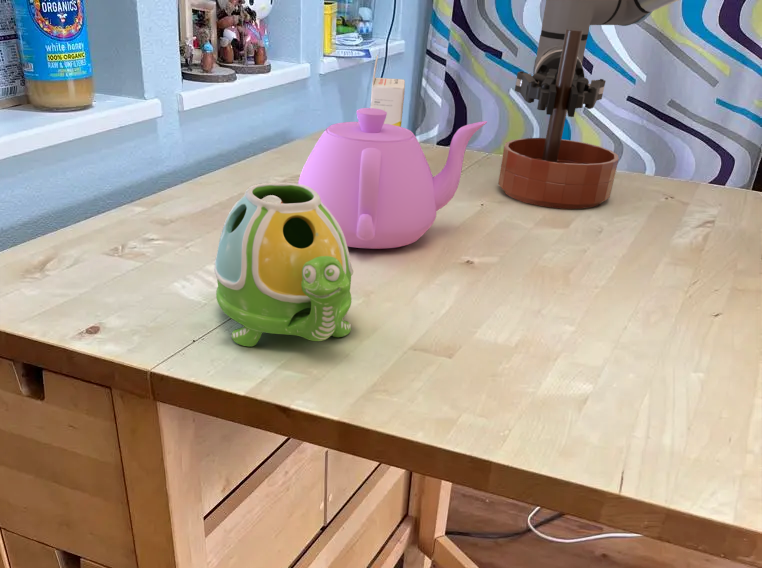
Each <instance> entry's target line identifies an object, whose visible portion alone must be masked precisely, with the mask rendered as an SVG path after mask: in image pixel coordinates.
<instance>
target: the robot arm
mask: <svg viewBox="0 0 762 568" xmlns="http://www.w3.org/2000/svg"><path fill="white" fill-rule="evenodd" d="M678 1H680V0H545V4H544V11H543V17H542V24H541V29H540V35H539V39H538V46H537V51H536V57H535V59H534V63H533V69H532V71H533V72H532V73H533V75H532V73H528V72H524V71H522V70H520V71H517V73H516V74H517V75H516V81H515V87H514V91H515V92H517V93H518V94H519V93H520V95H521V97H522V98H523V100H524V101H525V102H526V103H528V104H532V103H534V102H535V100H538V102H537V108H536V110H538V111H545V112H546V115H547V116H550V115H552V113H553V108H554V102H555V97H556V80H557V75H558V70H559V64H560V59H561V53H562V48H563V42H564V37H565V32H566V29H578V30H582V31H583V32H582V37H581V42H580V47H579V52H578V57H577V62H576V67H575V72H574V78H573V83H572V88H571V92H570V97H569V102H568V107H567V116H568V118H569V117H570V118H574V117H575V114H576V109H582V108H583V107H584V108H586V109H587V110H591V109H594V107H595V105H596V103H597V101H601V100H602V99H603V96H604V91H605V86H606V80H604V78H599V79H591V81H589V79H588V78H586V77H585V70H584V68H583V60H584V55H585V50H586V45H587V40H588V37H589V30H590V26H620V27H627V26H631V25H637V24H640V23H642V22H644V21H645V20H647V19H648V18H649V16H651V14H652V13H653V12H654V11H656V10H657V11H658V10H659V9H661V8H664V7H666V6H669V5H671V4H674V3H676V2H678Z"/></svg>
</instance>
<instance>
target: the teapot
mask: <svg viewBox="0 0 762 568" xmlns="http://www.w3.org/2000/svg"><path fill="white" fill-rule="evenodd" d="M386 115H387V112H385V111H384V110H381V109H375V108H370V107H361V108H359V109H357V110H356V117H357V120H358V121H345V122H337V123H333V124H331V125H329V126H328V127H326V129H325V130H324V131H323V132H322V134H321V135H320V136H319V138H318V140H317V141H316V143H315V145H314V146H313V148H312V150H311V152H310V153H309V155H308V157H307V159H306V161H305V163H304V165H303V167H302V170H301V172H300V174H299V178H298V180H297V184H301V185H305V186H308V187H310V188H312V189H313V190H314V191H316V192H317V193H318V195H319V196H320V199H321V202H322V203H323V204H324V205H325V207H326V208H327V209H328V210H329V211H330V213H331V214H332V215H333V217H334V218H335V219H336V221H337V222H338V224H339V226H340V227H341V229H342V232H343V234H344V237H345V240H346V244H347V247H348V248H358V249H374V250H375V249H376V250H377V249H379V250H380V249H397V248H400V247H404V246H408V245H411V244H414V243H415V242H417V241H418V240H419V239H420V238H421V237H422V236H423V235H425V234H426V233H427V232H428V231H429V229H430V228H431V227H432V226H433V225H434V222H435V221H436V218H437V212H438V211H439V210H441V209H442V208H444V207H445V206H447V205H448V203H450V201H451V200H452V199H453V198H454V196H455V194H456V193H457V190H458V187H459V184H460V181H461V177H462V169H463V163H464V156H465V153H466V149H467V147H468V144H469V142H470V140H471V138H472V137H473V136H474V134H476V132H477V131H479V130H480V129H481V128H482V127H484V126H485V125H486V124H487V123H488V121H487V120H484V121H478V122H473V123H469V124H465V125H463V126H461V127H460V128H458V129H457V130H456V132H455V133H454V134H453V136H452V138H451V141H450V145H449V150H448V154H447V160H446V162H445V164H444V166H443V168H442V169H441V171H440V172H438V173H437V174H436V175H434V176H433V173H432V170H431V168H430V167H431V166H430V164H429V163H428V160H427V158H426V155H425V152H424V150H423V149H422V146H421V144H420V143H419V140H418V139H417V137H416V135H415V134H414V133H413V131H412V130H410V129H408V128H406V127H403V126H401V127H399V126H395V125H390V124H384V121H385V119H386Z"/></svg>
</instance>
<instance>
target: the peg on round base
mask: <svg viewBox="0 0 762 568" xmlns="http://www.w3.org/2000/svg"><path fill="white" fill-rule="evenodd" d="M582 32H583V31H582V30H578V29H566V32H565V37H564V42H563V48H562V53H561V59H560V64H559V70H558V75H557V80H556V97H555V102H554V108H553V113H552V115H549V119H548V123H547V124H548V125H547V129H546V134H545V135H546V136H545V138H546V140H545V145H544V151H543V156H542V160H546V161H552V162H557V159H558V154H559V149H560V144H561V139H563V133H564V128H565V124H566V119H567V114H568V112H567V107H568V102H569V97H570V92H571V88H572V83H573V78H574V72H575V67H576V62H577V57H578V52H579V47H580V42H581V37H582Z"/></svg>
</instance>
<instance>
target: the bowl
mask: <svg viewBox="0 0 762 568" xmlns="http://www.w3.org/2000/svg"><path fill="white" fill-rule="evenodd" d="M545 140H546V137H524V138H523V137H522V138H517V139H511V140H509V141H506V142H505V144H504V146H503V152H502V159H501V163H500V164H501V165H500V170H499V177H498V186H499V187H500V188H501V189H502V190H503V193H505V195H507V196H508V197H510V198H512V199H514V200H516V201H519V202H522V203H526V204H529V205H534V206H540V207H545V208H550V209H551V208H553V209H565V210H566V209H567V210H578V209H579V210H580V209H581V210H582V209H590V208H594V207H597V206H599V205H601V204H602V203H603V202H605V201H606V200H608V199H610V197H611V194H612V189H613V184H614V181H615V177H616V173H617V172H616V171H617V168H618V163H619V160H620V159H619V154H617V153H616V152H614V151H613V150H610V149H608V148H605V147H603V146H601V145H596V144H592V143H589V142H583V141H578V140H577V141H576V140H571V139H563V138H562V139H561V144H560V149H559V154H558V159H557V162H552V161H546V160H542V156H543V151H544V145H545Z"/></svg>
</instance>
